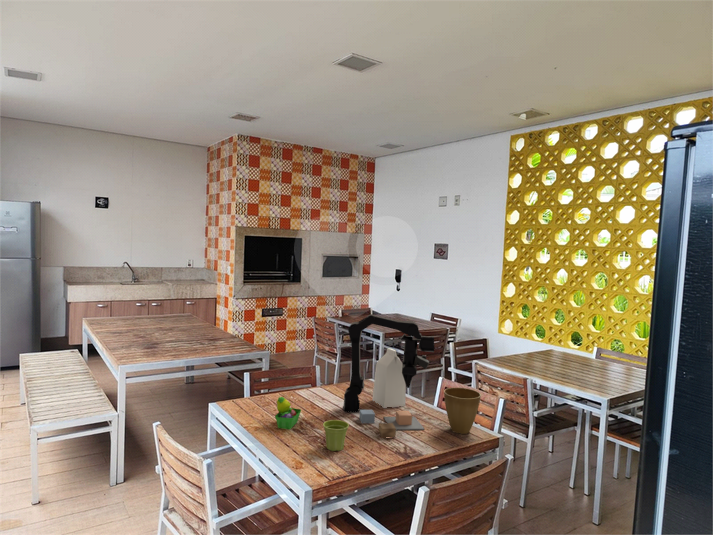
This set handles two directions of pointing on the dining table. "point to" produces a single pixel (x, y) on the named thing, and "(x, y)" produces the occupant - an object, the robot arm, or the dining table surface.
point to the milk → (389, 381)
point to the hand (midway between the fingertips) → (408, 384)
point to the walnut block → (387, 430)
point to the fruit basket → (286, 414)
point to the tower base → (405, 427)
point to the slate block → (367, 416)
